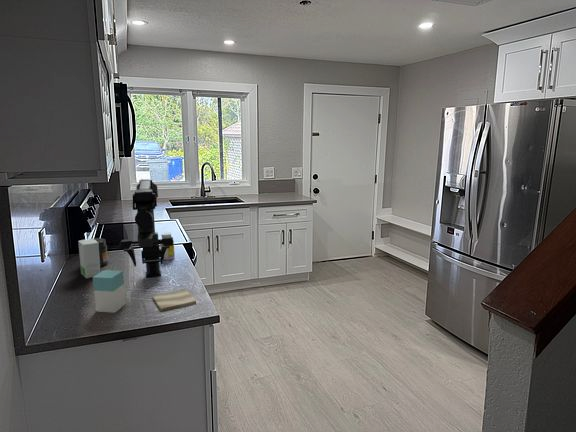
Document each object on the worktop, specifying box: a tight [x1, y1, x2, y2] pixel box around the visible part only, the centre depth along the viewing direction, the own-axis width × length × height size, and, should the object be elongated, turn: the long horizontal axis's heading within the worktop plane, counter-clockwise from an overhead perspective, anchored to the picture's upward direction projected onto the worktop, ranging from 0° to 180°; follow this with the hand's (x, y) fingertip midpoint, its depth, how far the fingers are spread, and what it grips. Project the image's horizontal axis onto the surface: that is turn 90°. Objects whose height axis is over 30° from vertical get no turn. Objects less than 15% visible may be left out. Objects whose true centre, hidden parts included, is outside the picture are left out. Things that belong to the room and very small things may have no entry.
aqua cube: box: [92, 269, 125, 292], centre depth 139 cm, size 7×7×6 cm
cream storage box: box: [93, 283, 127, 313], centre depth 141 cm, size 7×7×8 cm
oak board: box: [152, 288, 197, 312], centre depth 147 cm, size 13×13×1 cm
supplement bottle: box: [159, 232, 176, 261], centre depth 196 cm, size 7×7×13 cm
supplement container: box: [93, 237, 109, 268], centre depth 186 cm, size 10×10×12 cm
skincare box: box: [77, 238, 101, 279], centre depth 173 cm, size 8×7×16 cm
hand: (148, 265), depth 145 cm, fingers open, 9 cm apart
